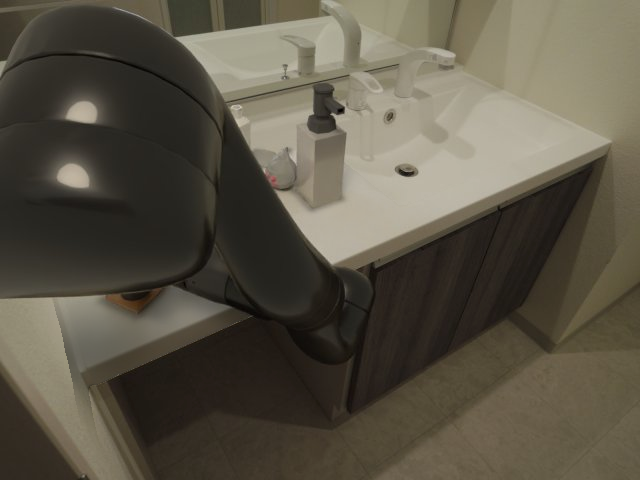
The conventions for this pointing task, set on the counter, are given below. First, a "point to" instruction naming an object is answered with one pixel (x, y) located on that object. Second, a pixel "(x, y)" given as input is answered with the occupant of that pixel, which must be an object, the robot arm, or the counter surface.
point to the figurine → (281, 170)
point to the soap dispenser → (321, 150)
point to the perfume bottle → (242, 122)
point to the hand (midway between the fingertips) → (106, 226)
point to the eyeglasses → (264, 156)
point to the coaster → (133, 305)
